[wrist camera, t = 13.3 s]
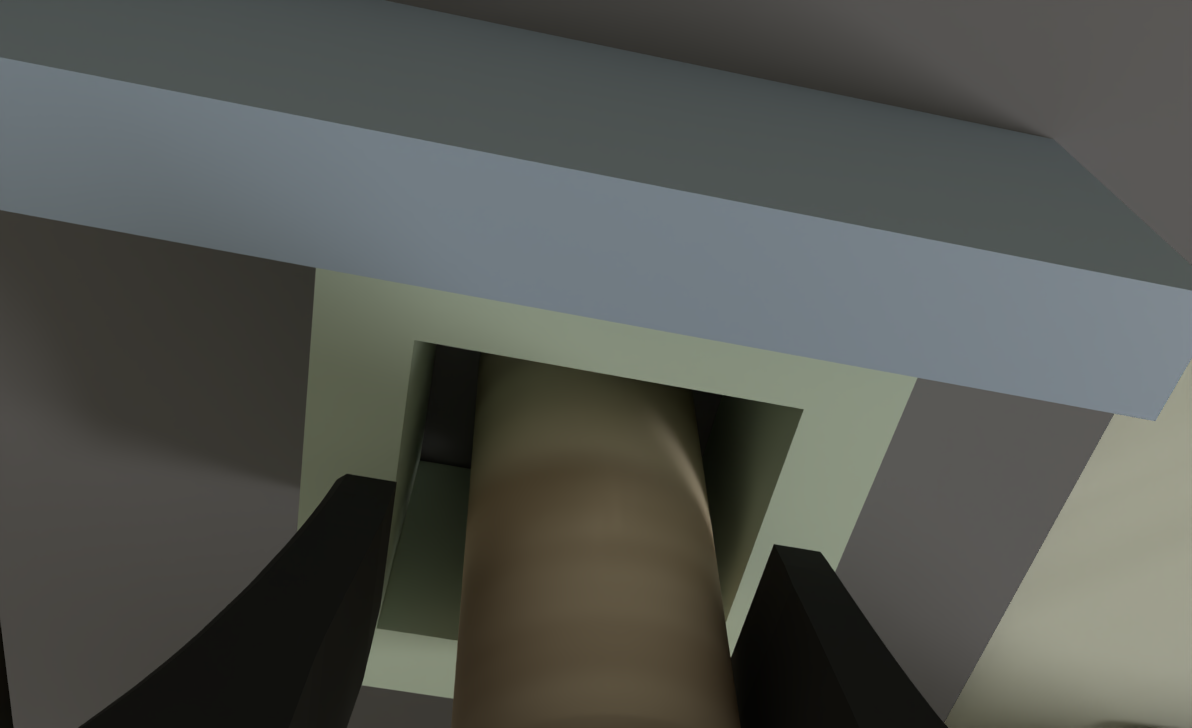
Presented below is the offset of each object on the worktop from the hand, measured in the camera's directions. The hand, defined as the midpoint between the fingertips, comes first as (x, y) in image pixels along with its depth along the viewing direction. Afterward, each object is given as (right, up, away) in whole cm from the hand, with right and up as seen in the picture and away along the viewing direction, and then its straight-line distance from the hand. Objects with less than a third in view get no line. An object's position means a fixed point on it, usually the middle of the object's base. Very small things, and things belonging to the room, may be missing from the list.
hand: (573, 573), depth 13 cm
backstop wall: (0, +6, +2) cm, 7 cm away
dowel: (0, +2, +4) cm, 5 cm away
